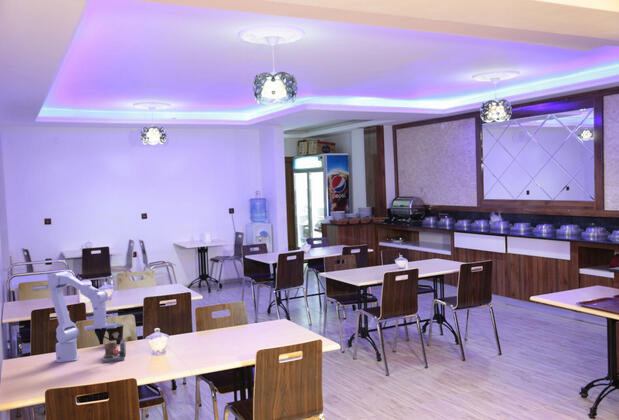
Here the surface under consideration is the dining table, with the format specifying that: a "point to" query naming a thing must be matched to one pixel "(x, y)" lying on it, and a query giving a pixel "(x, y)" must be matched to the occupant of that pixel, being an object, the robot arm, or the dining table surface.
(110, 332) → the coffee mug
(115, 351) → the lever
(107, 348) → the housing block
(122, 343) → the press bed
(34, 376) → the dining table surface
